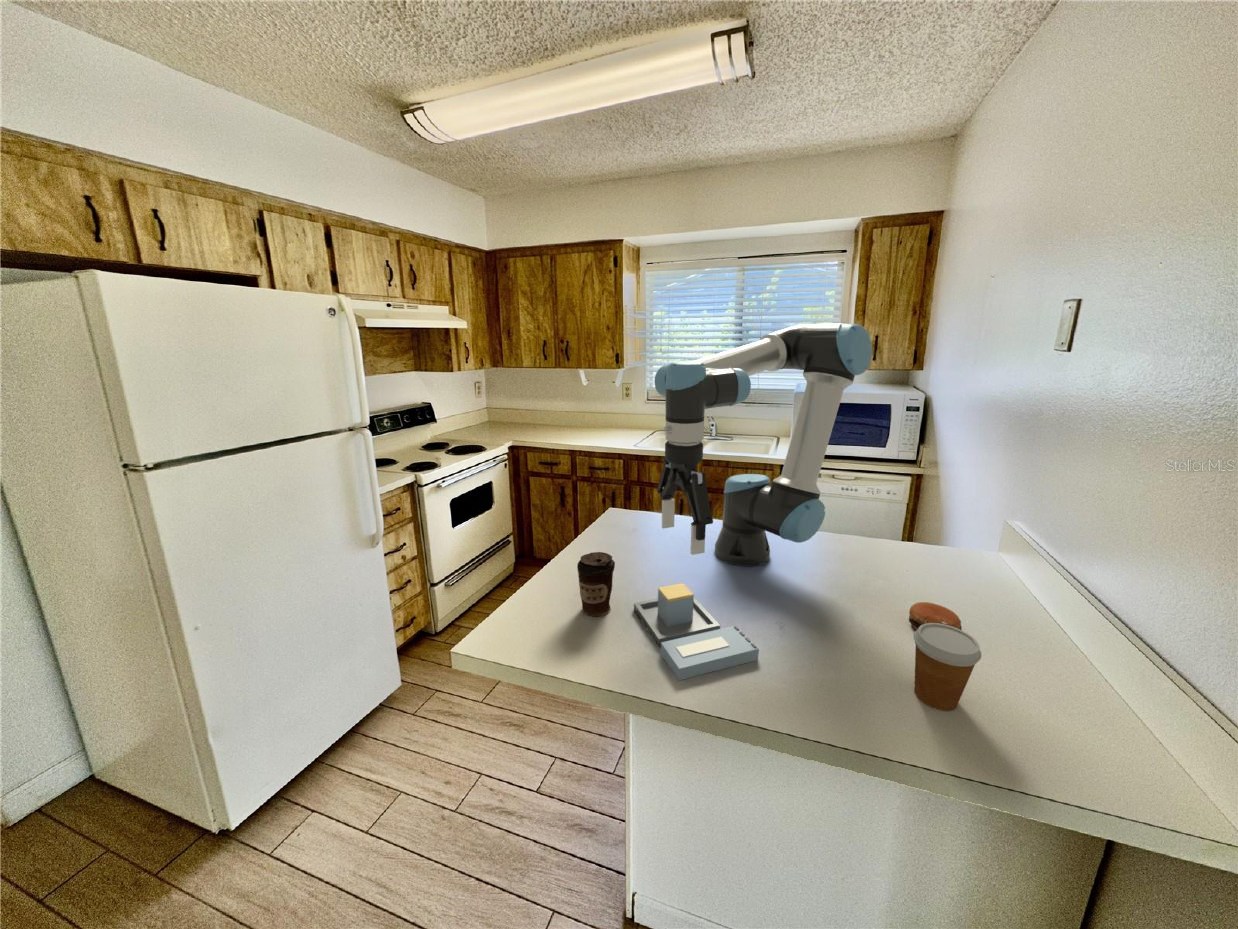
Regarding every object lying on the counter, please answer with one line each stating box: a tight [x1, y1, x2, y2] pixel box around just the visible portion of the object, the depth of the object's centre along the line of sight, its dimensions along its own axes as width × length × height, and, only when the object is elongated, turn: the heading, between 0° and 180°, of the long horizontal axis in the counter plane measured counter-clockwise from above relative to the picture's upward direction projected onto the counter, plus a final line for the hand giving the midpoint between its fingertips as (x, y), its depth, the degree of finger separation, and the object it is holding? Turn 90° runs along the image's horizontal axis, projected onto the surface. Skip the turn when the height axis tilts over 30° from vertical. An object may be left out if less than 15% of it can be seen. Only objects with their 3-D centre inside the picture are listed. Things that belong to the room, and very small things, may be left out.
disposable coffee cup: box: [913, 623, 983, 712], centre depth 82 cm, size 10×10×12 cm
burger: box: [908, 601, 963, 631], centre depth 102 cm, size 10×9×5 cm
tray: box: [633, 597, 721, 648], centre depth 105 cm, size 14×14×2 cm
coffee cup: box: [576, 551, 616, 617], centre depth 108 cm, size 9×8×13 cm
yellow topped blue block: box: [657, 582, 695, 627], centre depth 105 cm, size 6×5×7 cm
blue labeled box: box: [660, 625, 760, 681], centre depth 94 cm, size 17×8×3 cm, turn 109°
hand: (681, 539), depth 101 cm, fingers open, 13 cm apart
